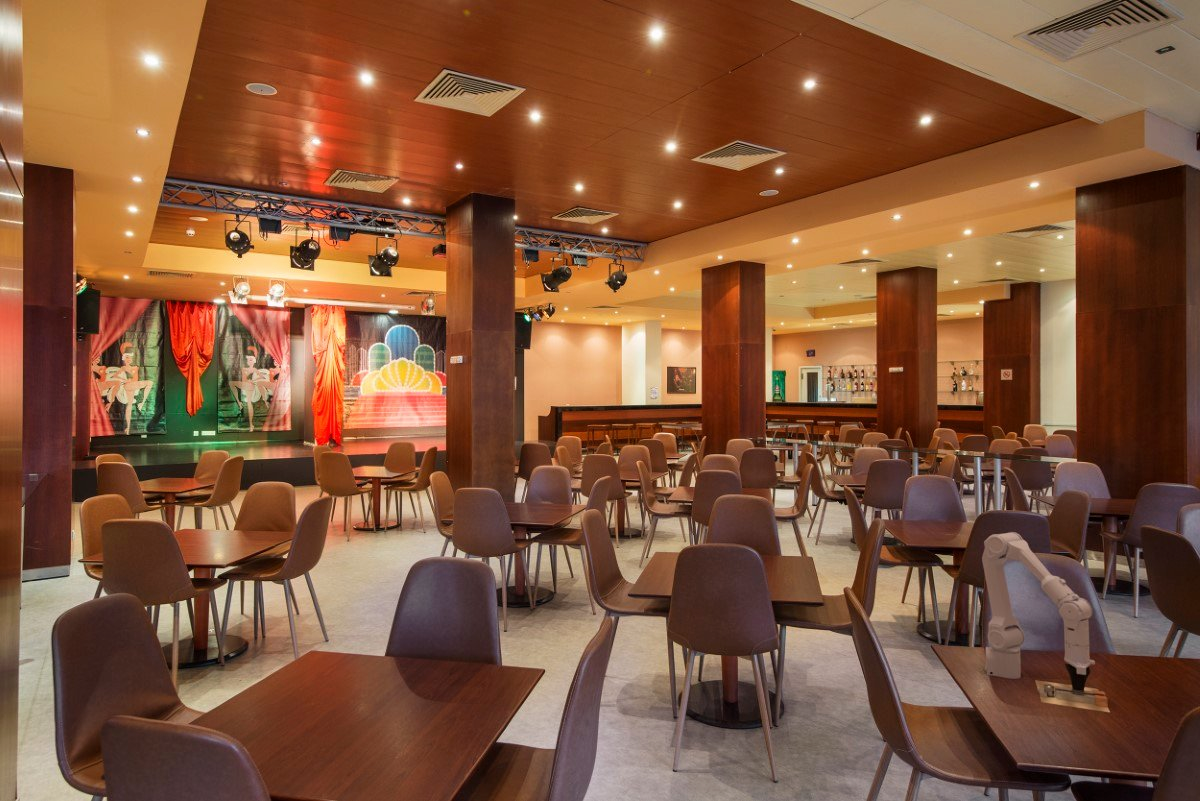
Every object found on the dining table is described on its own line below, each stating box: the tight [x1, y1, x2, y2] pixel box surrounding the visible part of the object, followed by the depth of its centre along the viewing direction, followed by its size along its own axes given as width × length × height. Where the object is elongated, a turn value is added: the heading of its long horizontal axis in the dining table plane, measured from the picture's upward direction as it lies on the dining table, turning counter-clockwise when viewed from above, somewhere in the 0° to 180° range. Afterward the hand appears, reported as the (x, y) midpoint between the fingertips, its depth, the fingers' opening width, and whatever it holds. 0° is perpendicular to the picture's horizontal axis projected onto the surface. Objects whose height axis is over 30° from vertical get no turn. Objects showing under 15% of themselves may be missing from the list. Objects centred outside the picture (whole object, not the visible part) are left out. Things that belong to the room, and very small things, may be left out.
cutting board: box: [1035, 679, 1111, 713], centre depth 196 cm, size 15×18×1 cm
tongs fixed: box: [1037, 684, 1109, 708], centre depth 193 cm, size 15×4×3 cm, turn 63°
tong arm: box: [1055, 686, 1106, 696], centre depth 193 cm, size 12×2×2 cm, turn 63°
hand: (1078, 692), depth 194 cm, fingers closed
